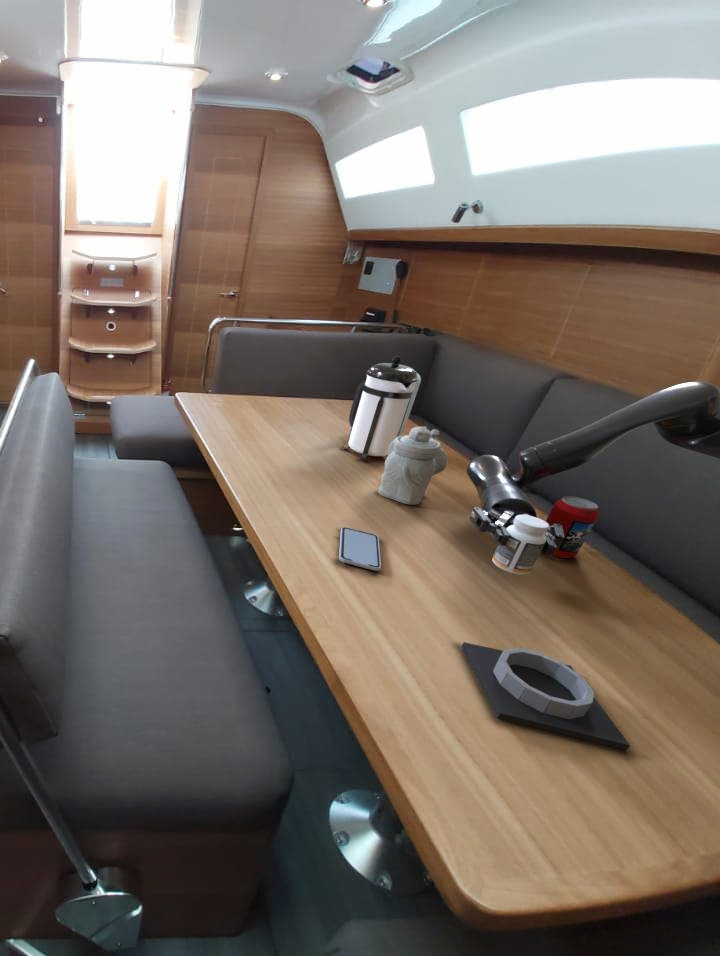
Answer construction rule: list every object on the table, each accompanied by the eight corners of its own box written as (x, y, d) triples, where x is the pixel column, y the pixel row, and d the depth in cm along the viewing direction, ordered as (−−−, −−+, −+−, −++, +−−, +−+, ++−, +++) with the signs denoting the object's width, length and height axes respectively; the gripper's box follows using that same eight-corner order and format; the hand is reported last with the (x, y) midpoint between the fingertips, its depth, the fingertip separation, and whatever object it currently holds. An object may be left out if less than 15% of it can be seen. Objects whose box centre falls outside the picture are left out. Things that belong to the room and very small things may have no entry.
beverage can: (569, 564, 101) (598, 513, 96) (528, 549, 106) (554, 499, 101) (578, 554, 105) (606, 504, 100) (538, 539, 110) (563, 491, 104)
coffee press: (401, 454, 154) (435, 356, 141) (387, 468, 143) (422, 364, 130) (343, 439, 164) (369, 347, 151) (325, 451, 154) (352, 353, 141)
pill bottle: (527, 565, 93) (551, 519, 89) (531, 580, 89) (556, 533, 84) (489, 554, 96) (511, 509, 92) (491, 568, 92) (514, 522, 87)
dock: (568, 670, 75) (578, 653, 74) (626, 750, 63) (641, 732, 61) (461, 646, 79) (469, 629, 77) (497, 718, 67) (507, 699, 65)
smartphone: (378, 535, 108) (381, 569, 95) (377, 538, 108) (379, 573, 96) (341, 525, 110) (339, 558, 98) (340, 529, 111) (338, 562, 99)
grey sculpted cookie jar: (412, 480, 136) (435, 414, 128) (454, 506, 123) (484, 435, 115) (355, 480, 135) (376, 414, 126) (392, 507, 121) (418, 435, 113)
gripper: (542, 532, 100) (569, 576, 86) (457, 513, 106) (469, 552, 92) (559, 499, 97) (590, 539, 83) (470, 482, 103) (485, 517, 89)
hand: (526, 546), depth 88 cm, fingers closed on pill bottle, 5 cm apart
